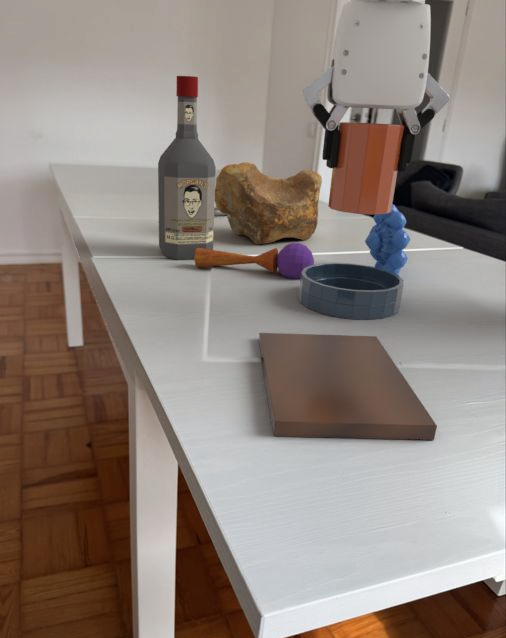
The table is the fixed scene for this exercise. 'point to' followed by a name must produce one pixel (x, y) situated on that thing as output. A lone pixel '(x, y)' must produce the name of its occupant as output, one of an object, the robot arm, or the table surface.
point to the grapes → (388, 241)
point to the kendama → (262, 259)
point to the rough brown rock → (268, 203)
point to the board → (339, 389)
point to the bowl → (350, 290)
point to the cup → (366, 168)
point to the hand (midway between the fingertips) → (364, 167)
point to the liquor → (186, 183)
